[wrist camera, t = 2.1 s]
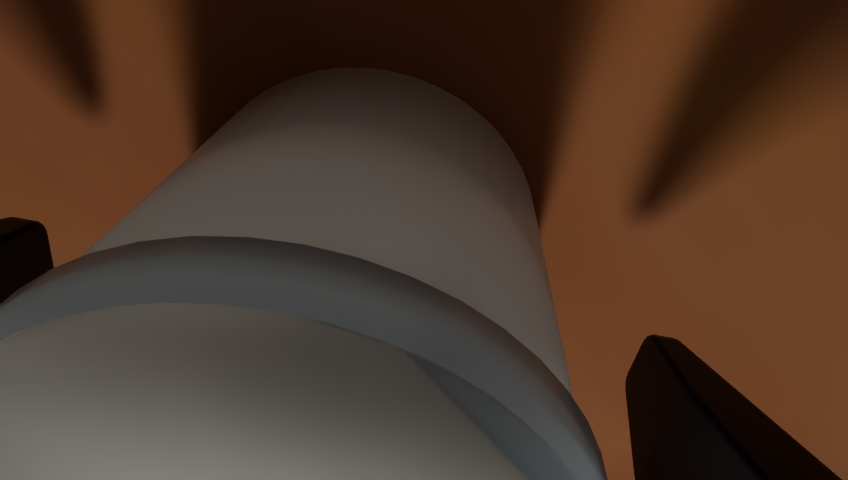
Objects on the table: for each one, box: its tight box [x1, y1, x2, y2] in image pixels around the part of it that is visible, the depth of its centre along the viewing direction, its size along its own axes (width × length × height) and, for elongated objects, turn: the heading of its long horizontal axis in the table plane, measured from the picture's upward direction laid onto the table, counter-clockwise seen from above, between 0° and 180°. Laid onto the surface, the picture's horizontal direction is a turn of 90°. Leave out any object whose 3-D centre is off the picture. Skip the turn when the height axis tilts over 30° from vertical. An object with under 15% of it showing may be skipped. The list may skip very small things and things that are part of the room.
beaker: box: [0, 68, 607, 480], centre depth 8 cm, size 6×6×6 cm
